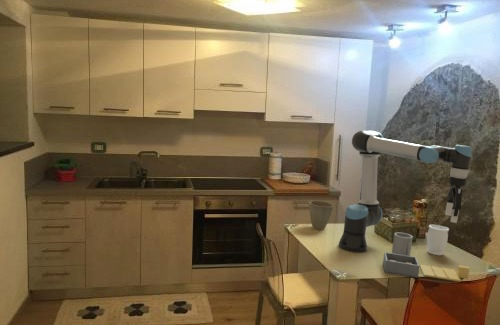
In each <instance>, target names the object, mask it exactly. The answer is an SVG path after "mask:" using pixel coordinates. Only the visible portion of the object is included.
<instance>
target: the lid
mask: <svg viewBox="0 0 500 325" xmlns="http://www.w3.org/2000/svg"><path fill="white" fill-rule="evenodd" d="M419 265H420V267H419V269H420V270H421V273H422V274H423V276H424V277H430V278H434V279H435V278H436V279H441V280H446V281H447V280H448V281H454V282H459V283H460V282H462V279H467V280H468V279H469V276H470V275H469V273H470V266H465V265H460V264H458V265H457V270H456V271H457V272H456V271H455V269H452V268H446V267H444V266H442V267H440V266H433V265H425V264H419Z"/></svg>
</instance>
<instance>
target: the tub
mask: <svg viewBox="0 0 500 325" xmlns="http://www.w3.org/2000/svg"><path fill="white" fill-rule="evenodd" d="M420 265H421V264H420V263H419V260H418V258H417V257H416V256H412V255H410V256H405V255H399V254H392V252H384V254H383V260H382V266H383V271H384V274H385V273H386V274H391V275H396V276H397V275H398V276H403V277H409V278H414V279H415V278H416V279H418V278H419V273H420Z"/></svg>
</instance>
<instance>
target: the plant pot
mask: <svg viewBox="0 0 500 325" xmlns="http://www.w3.org/2000/svg"><path fill="white" fill-rule="evenodd" d="M308 205H309V206H308V208H309V216H310V222H311V226H312V229H314V230H317V231H323V230H325V228H326V227H327V225H328V222H329V220H330V217H331V216H332V215H331V214H332V211H333V208H334V204H332V202H328V201H323V200H310V201H309V203H308Z"/></svg>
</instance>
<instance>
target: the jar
mask: <svg viewBox="0 0 500 325" xmlns="http://www.w3.org/2000/svg"><path fill="white" fill-rule="evenodd" d="M428 228H429V229H428V232H427V236H426V237H427V238H426V240H427V241H426V243H427V246H426V247H427V251H426V252H427V253H428V254H430V255H433V256H443V255H444V251H445V249H446V245H447V243H448V239H449V238H448V237H449V231H450V228H449V227H447V226H444V225H439V224H429V225H428Z"/></svg>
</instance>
